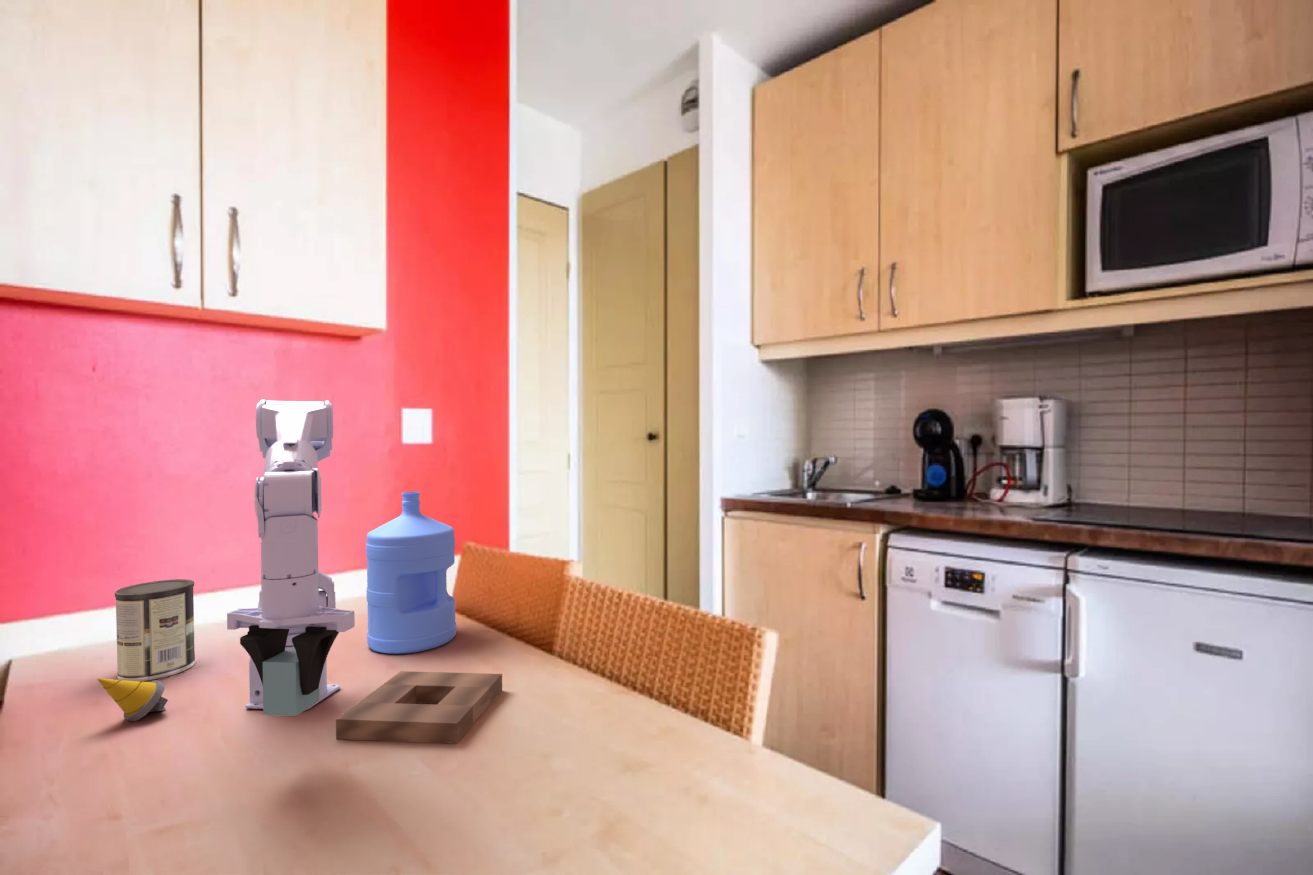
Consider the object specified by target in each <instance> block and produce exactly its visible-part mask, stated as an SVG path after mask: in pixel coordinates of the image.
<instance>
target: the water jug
mask: <svg viewBox="0 0 1313 875" xmlns="http://www.w3.org/2000/svg"><path fill="white" fill-rule="evenodd" d="M420 495H421V492H419V491H407V492H401V496H402V500H401V507H402V512H401V514H400V515H399V516H397V517H396V518H394V519H391V520H389V521H387V522H386V523H384V524H382V525H380V526H378V527H376V528H375V529H373V530H370V531H368V533H367V535H366V544H365V555H366V579H367V580H366V583H367V584H366V585H367V586H366V591H365V592H366V603H367V633H366V643H367V645H368V647H369V648H370V649H371V650H372V651H374V652H378V653H381V654H389V655H391V654H392V655H398V654H399V655H401V654H402V655H404V654H413V653H419V652H424V651H429V650H432V649H437V648H438V647H441V646H443V645H445V644H447V643H449V642H450V641H452V640H453V639H454V638H455V636H456V635H457V622H456V599H455V597H454V596H452V595H450V594H449V593H448V590H447V589H448V588H447V587H448V586H447V584H448V583H447V571H448V569H450V567H452V566H453V565H454V564H455V560H456V559H455V551H456V537H455V530H454V527H452V526H450V525H449V524H446V523H444V522H441V521H440V520H439V521H438V520H436V519H433V518H432V517H429V516H427V515H424V514H423V513H421V509H420V508H421V507H420V504H421V500H420Z"/></svg>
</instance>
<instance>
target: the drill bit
mask: <svg viewBox="0 0 1313 875" xmlns="http://www.w3.org/2000/svg"><path fill="white" fill-rule="evenodd" d="M96 680H97V682H98V683H99V684H100V685H101V686H102V687H103V689H104V690H105V691H106V692H107V693H108V695H109V696H110V697H111V699H112V700H113V701H114V702H115V703H116V704H117V706H118V707H119V708H120V709H121V710H122V712H123V718H124V719H126V720H128V721H131V722H137V721H138V720H141V719H142V718H143V717H144V716H146V715H147V714H148V713H150V712H151V713H152V712H163V711H167V709H166V708H165V706H166V704H167V703H168V701H169V700H168V699H167V698H165V697H163V693H164V692H165V687H166V686H165V683H164V682H162V681H160V680H159V679H155V680H150V681H127V680H122V681H119V680H118V679H112V678H96Z"/></svg>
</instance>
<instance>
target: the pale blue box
mask: <svg viewBox="0 0 1313 875" xmlns="http://www.w3.org/2000/svg"><path fill="white" fill-rule="evenodd" d="M318 701H319V688H318V689H316V690H315V691H313V692H312V693H310V694H308V695H302V692H301V687H300V669H299V662H298V657H297V654H296V650H286V651H284V652H282V653H280V654H278V655H276V656H274V657H272V658H270V659H268V660H266V661H264V662H263V709H262V711H263V712H262V713H263V716H288V717H297V716H299V715H300V714H301V713H303V712H305V711H307V710H309V709H310V708H309V707H311V706H312V705H314V704H315V703H317V702H318ZM318 703H319V702H318ZM318 703H317V704H318ZM315 705H316V704H315ZM315 705H314V706H315ZM312 707H313V706H312ZM312 707H311V708H312ZM308 708H309V709H308ZM306 709H307V710H306Z"/></svg>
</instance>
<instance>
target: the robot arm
mask: <svg viewBox="0 0 1313 875" xmlns="http://www.w3.org/2000/svg"><path fill="white" fill-rule="evenodd" d="M333 410H334V407H333V404H332V403H331V402H330V400H324V401H317V400H316V401H315V400H314V401H311V400H310V401H309V400H308V401H306V400H305V401H304V400H303V401H301V400H299V401H298V400H297V401H296V400H266V399H261V400H260V401H259V402H257V403H256V407H255V432H256V438H257V439H258V445H259V451H260V453H261V455H262V458H263V459H265V460H264V465H263V474H262V476H261V477H259V476H257V477H256V478H255V484H254V510H255V511H254V512H255V517H256V519H257V520H256V521H257V528H258V529H257V530H258V538H260V539H261V540H260V568H261V569H260V577H261V578H260V588H261V589H259V593H258V594H259V595H258V596H259V597H258V605H257V607H255V608H253V607H252V608H249V607H248V608H238V609H235V610H233V611H229V612H227V613H226V626H227V627H226V629H227V630H229V631H230V630H238V629H248V631H247V632H246V633H247V634H245V635H242V636H241V637H239V644H240V646H242V648H243V649H244V650H245V652H247V654H248V656H249V663H248V664H249V666H248V668H249V669H248V673H249V674H248V676H249V678H248V679H249V702H248V703H246V704H245V709H254V710H257V709H259V710H260V709H261V710H263V662H264V661H266V660H268V659H270V658H272V657H274V656H276V655H278V654H280V653H282V652H284V651H286V650H296V654H297V657H298V662H299V669H300V687H301V692H302V695H308V694H310V693H312V692H313V691H315V690H316V689H318V688H319V701H318V702H317V703H315V704H314V705H312V706H311V707H309V708H308V709H306V710H305V711H307V710H309V709H311V708H313V707H314V706H316V705H317V704H319V702H321V701H324V699H326V698H328V697H329V696H330V695H332V694H333V693H336V692H337V691H338V690H339V689H340V688H341V684H329V683H328V673H327V672H328V669H327V668H328V667H327V666H328V663H327V661H328V659H327V658H328V655H329V653H330V651H331V648H332V646H333V644H334V642H335V640H336V639H337V637H338V635H339V634H340V633H345V632H347V631H349V630H351V629H353V628H354V627H356V625H355V610H351V609H349V610H347V609H339V608H336V607H337V605H336V602H337V601H336V591H335V581H333V579H332V577H331V576H329V575H327V574H325V573H323V572H322V571H320V570H319V531H318V530H319V525H318V519H320V517H321V514H322V478H321V474H320V471H319V467H318V463H319V462H320V461H323V460H325V459H327V458H329V457H331V451H332V450H333V438H334V415H333V414H334V413H333V412H334V411H333ZM314 513H316V514H317V517H318V518H317V517H315V516H314ZM319 589H320V590H319Z"/></svg>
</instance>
